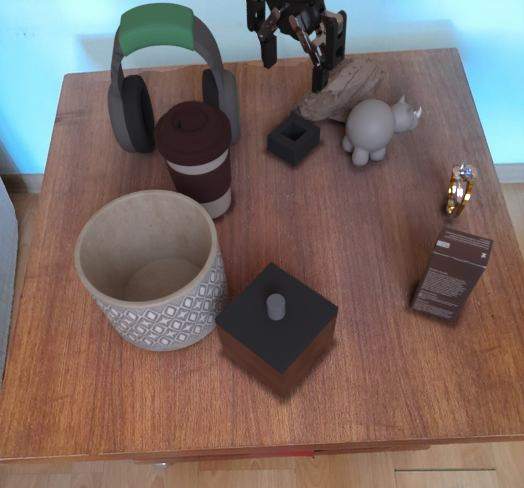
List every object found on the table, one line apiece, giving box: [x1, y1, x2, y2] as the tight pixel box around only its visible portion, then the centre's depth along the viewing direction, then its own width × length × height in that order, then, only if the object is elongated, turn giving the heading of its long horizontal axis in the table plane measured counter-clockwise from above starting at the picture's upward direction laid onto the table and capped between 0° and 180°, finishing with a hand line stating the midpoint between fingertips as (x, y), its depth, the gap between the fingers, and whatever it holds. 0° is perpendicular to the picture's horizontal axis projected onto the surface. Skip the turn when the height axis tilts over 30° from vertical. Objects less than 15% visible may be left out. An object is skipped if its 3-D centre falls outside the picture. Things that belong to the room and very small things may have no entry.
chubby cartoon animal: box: [341, 94, 423, 167], centre depth 73 cm, size 7×12×8 cm, turn 107°
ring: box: [445, 159, 478, 219], centre depth 68 cm, size 7×3×8 cm, turn 168°
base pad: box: [215, 261, 339, 374], centre depth 54 cm, size 10×10×4 cm
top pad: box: [266, 113, 321, 167], centre depth 77 cm, size 6×6×3 cm
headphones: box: [107, 2, 242, 155], centre depth 71 cm, size 19×11×20 cm, turn 93°
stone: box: [289, 56, 388, 124], centre depth 78 cm, size 15×9×10 cm
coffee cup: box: [154, 100, 232, 220], centre depth 67 cm, size 10×10×15 cm
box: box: [409, 225, 494, 323], centre depth 59 cm, size 6×4×12 cm
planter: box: [73, 189, 229, 352], centre depth 61 cm, size 16×16×13 cm
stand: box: [216, 312, 339, 399], centre depth 59 cm, size 10×10×8 cm
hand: (293, 77), depth 67 cm, fingers open, 8 cm apart
